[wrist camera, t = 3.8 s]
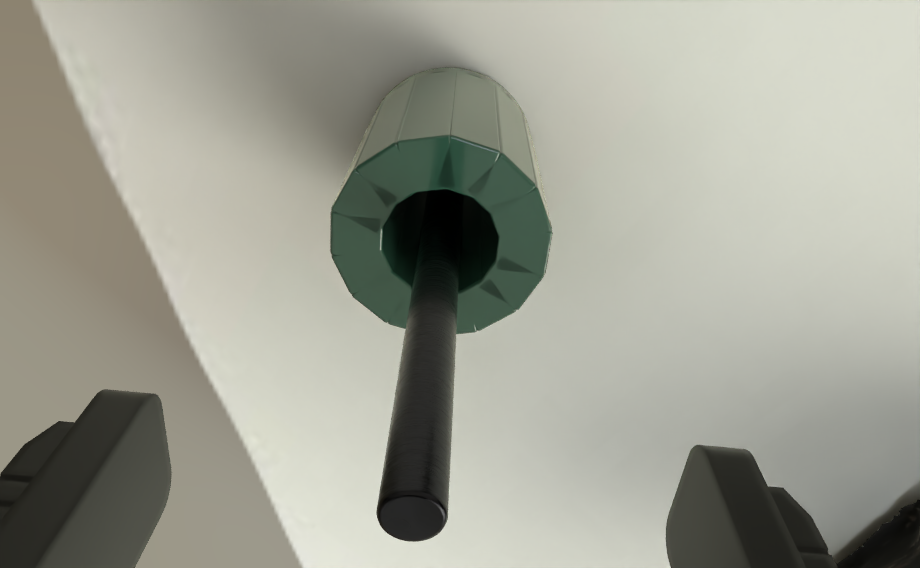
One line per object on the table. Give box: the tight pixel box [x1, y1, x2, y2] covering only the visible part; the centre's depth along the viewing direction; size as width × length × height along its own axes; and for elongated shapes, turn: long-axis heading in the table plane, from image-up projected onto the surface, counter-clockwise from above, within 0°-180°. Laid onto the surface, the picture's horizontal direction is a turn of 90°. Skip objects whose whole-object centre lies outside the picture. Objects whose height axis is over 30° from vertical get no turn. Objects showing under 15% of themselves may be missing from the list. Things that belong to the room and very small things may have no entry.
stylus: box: [377, 189, 463, 541], centre depth 16 cm, size 1×1×15 cm
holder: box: [330, 68, 553, 334], centre depth 20 cm, size 5×6×7 cm
